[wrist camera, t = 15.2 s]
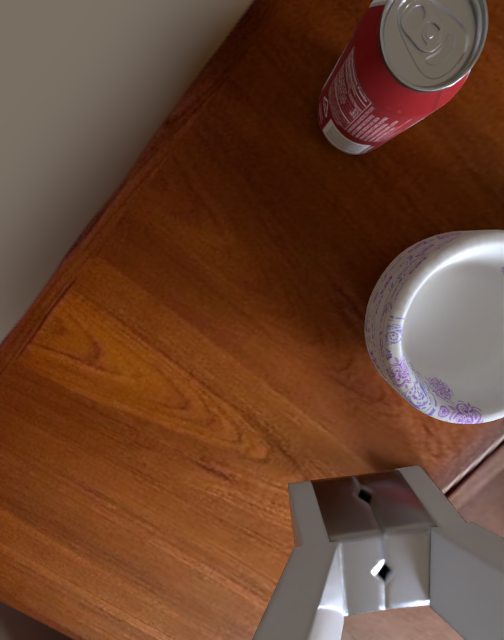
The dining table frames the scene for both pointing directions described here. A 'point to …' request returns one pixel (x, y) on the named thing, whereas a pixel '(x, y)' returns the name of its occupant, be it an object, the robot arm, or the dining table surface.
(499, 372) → the paper bowls
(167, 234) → the dining table surface
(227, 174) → the dining table surface
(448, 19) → the soda can
